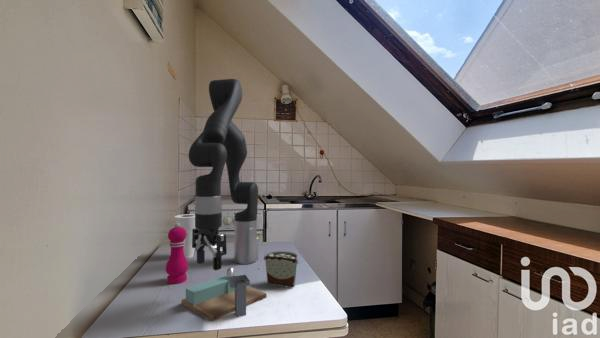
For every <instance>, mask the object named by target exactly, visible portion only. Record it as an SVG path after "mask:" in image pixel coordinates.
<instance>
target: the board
mask: <svg viewBox="0 0 600 338" xmlns="http://www.w3.org/2000/svg"><path fill="white" fill-rule="evenodd" d="M266 298H267V293H266V292H264V291H262V290H259V289H256V288H255V287H252V286H250V285H248V286H246V307H247V306H250V305H252V304H254V303H257V302H260V301H261V300H263V299H266ZM180 304H181V305H183V306H184V307H186V308H188V309H190V310H191V311H193V312H194V313H196V314H198V315H199V316H201V317H203V318H205V319H206V320H208V321H210V322H212V321H215V320H218V319H220V318H222V317H225V316H227V315H230V314H231V313H235V291H234V292H231V293H226V294H224V295H221V296H218V297H215V298H213V299H210V300H207V301H205V302H202V303H199V304H196V305H192V304H191V303H189V302H187V301H186V297H185V298H182V299H181V303H180Z"/></svg>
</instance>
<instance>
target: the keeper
mask: <svg viewBox="0 0 600 338" xmlns="http://www.w3.org/2000/svg"><path fill="white" fill-rule="evenodd" d="M228 283H229V285H230V287H231V288H234V287H235V311H234V314H235V316H236V317H242V316H246V315H247V306H246V286H251V285H250V283H251V281H250V279H249V277H248V276H247V275H246V274H241V275H238V276H233V277H228Z"/></svg>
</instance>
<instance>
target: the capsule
mask: <svg viewBox="0 0 600 338" xmlns="http://www.w3.org/2000/svg"><path fill="white" fill-rule="evenodd" d="M233 274H234V267H227V268H226V275H227V280H228V277H233Z"/></svg>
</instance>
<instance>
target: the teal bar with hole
mask: <svg viewBox="0 0 600 338" xmlns="http://www.w3.org/2000/svg"><path fill="white" fill-rule="evenodd" d="M233 276H239V275H237V274H235V273H233ZM234 291H235V287H234V288H231V287H230V285H229V283H228V280H227V274H226V275H222V276H219V277H217V278H213V279H211V280H208V281H205V282H201V283H199V284H195V285H191V286H189V287H185V298H186V301H187V302H189V303H191V304H192V305H196V304H199V303H202V302H205V301H207V300H210V299H213V298H215V297H218V296H221V295H224V294H226V293H231V292H234Z"/></svg>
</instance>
